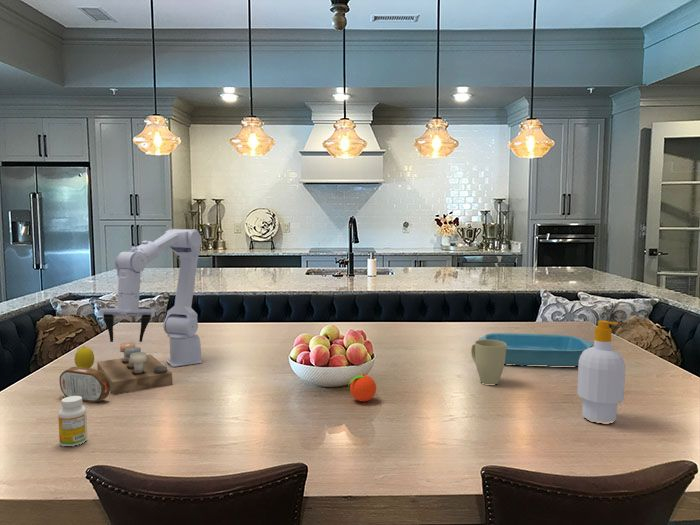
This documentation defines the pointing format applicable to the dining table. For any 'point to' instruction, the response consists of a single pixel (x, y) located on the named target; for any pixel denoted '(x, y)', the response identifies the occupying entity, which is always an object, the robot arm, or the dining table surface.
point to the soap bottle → (601, 377)
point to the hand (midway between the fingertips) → (126, 341)
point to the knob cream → (138, 361)
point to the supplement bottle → (72, 422)
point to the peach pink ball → (124, 346)
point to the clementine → (362, 388)
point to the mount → (135, 375)
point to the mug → (489, 359)
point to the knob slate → (130, 351)
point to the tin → (85, 384)
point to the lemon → (84, 357)
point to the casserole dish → (541, 348)
